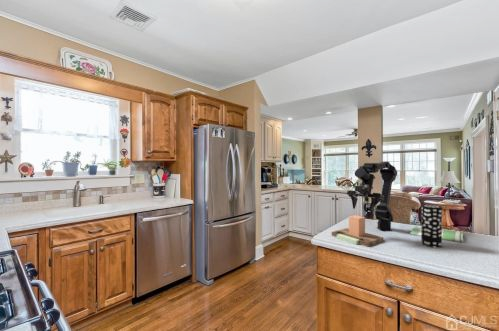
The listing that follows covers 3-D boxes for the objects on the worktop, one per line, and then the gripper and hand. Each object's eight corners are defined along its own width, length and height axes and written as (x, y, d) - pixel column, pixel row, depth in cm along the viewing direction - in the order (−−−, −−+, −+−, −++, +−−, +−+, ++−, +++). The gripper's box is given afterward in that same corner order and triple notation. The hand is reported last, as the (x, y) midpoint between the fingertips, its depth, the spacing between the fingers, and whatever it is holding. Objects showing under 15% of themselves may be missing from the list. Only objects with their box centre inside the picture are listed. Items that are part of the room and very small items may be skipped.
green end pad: (340, 237, 135) (340, 233, 135) (359, 243, 125) (359, 239, 125) (336, 238, 133) (336, 234, 133) (356, 244, 123) (356, 240, 123)
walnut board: (347, 231, 147) (347, 227, 147) (383, 241, 128) (383, 237, 128) (331, 235, 139) (331, 232, 139) (367, 246, 120) (367, 242, 120)
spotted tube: (437, 242, 125) (437, 205, 124) (444, 248, 117) (445, 208, 116) (418, 241, 127) (419, 204, 127) (424, 246, 119) (425, 207, 119)
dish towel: (414, 228, 152) (414, 224, 152) (462, 236, 137) (462, 231, 137) (410, 235, 139) (410, 230, 139) (463, 244, 123) (463, 239, 123)
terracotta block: (355, 232, 138) (355, 215, 138) (365, 234, 133) (365, 217, 132) (349, 234, 134) (349, 216, 134) (358, 236, 129) (358, 218, 129)
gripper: (344, 177, 138) (339, 203, 135) (378, 179, 123) (372, 208, 120) (354, 184, 144) (348, 208, 141) (386, 186, 129) (381, 214, 126)
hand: (361, 210), depth 132 cm, fingers open, 9 cm apart
